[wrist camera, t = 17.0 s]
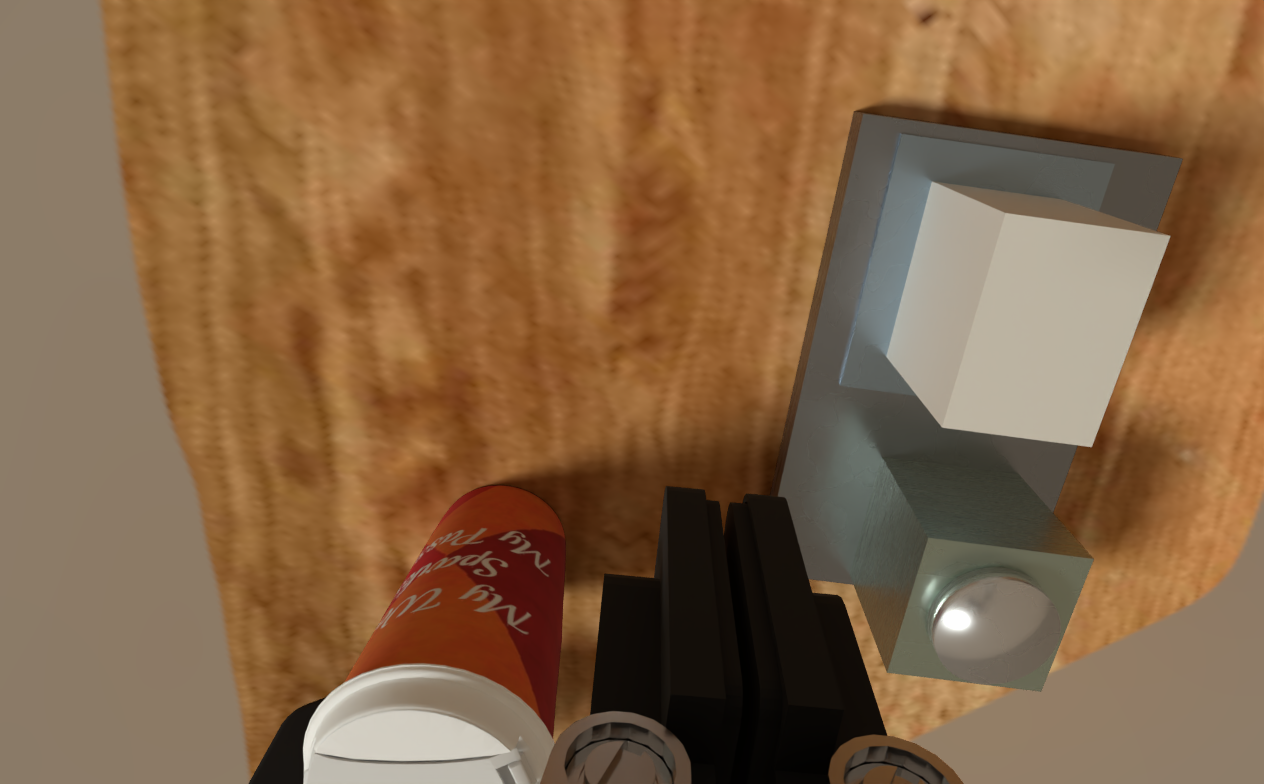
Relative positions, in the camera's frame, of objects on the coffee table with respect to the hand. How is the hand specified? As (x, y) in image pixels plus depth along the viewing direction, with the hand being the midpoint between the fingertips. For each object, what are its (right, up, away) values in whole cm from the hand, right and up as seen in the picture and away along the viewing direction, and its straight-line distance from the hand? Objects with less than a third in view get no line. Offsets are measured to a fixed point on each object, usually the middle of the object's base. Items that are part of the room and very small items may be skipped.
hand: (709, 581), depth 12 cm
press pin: (+12, -4, +24) cm, 27 cm away
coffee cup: (-7, -4, +28) cm, 29 cm away
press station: (+12, +3, +24) cm, 27 cm away
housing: (+12, +7, +21) cm, 25 cm away
